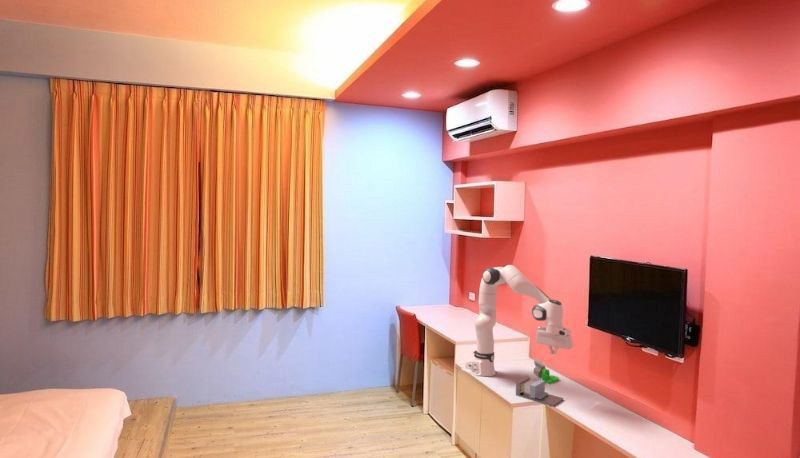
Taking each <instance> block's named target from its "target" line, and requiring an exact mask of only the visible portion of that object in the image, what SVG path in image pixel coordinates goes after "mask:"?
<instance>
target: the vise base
mask: <svg viewBox="0 0 800 458" xmlns="http://www.w3.org/2000/svg"><path fill="white" fill-rule="evenodd" d="M529 380H530V381H531V376H525V377H522V378H521V379H519V380H517V381H516V382H515V396H517V397H520V398H523V399H526V400H530V401H533V402H537V403H538V404H544V405H547V406H550V407H553V408H555V407H556V406H557V405H559V404H560V403H561V402H563V401H564V397H560V396H556V395H553V394H550V393H549V394H548V395H547V396H546V397H544V398H542V399H537V398H535V399H534V398H531V397H530V396H528V395H525V394H523V383H525V382H527V381H529Z"/></svg>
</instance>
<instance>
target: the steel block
mask: <svg viewBox="0 0 800 458" xmlns="http://www.w3.org/2000/svg"><path fill="white" fill-rule="evenodd" d="M535 382H536V381H533V380H531V379H530V380H529V381H527V382H525V383H523V394H525V395H528V396H530V385H531V384H533V383H535Z"/></svg>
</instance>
